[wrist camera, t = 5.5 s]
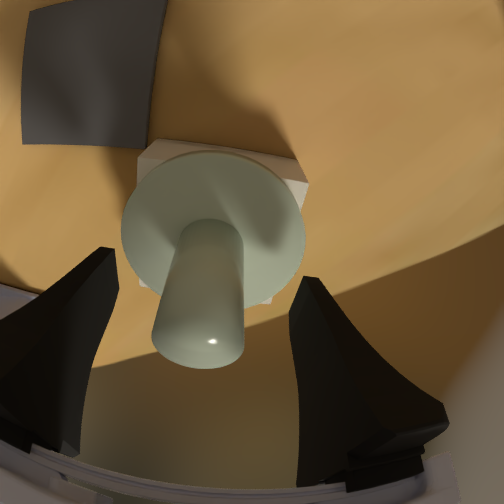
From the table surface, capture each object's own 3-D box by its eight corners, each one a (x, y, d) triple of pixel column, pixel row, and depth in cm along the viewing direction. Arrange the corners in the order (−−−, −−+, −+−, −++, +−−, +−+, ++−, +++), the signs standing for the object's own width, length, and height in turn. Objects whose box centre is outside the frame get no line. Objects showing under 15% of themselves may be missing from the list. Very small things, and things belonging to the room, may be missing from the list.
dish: (152, 252, 17) (139, 286, 15) (157, 138, 13) (137, 157, 11) (266, 268, 18) (270, 304, 16) (297, 160, 14) (309, 183, 12)
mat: (26, 142, 12) (22, 144, 12) (34, 11, 8) (29, 11, 7) (146, 146, 13) (144, 149, 13) (169, -8, 9) (167, -9, 9)
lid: (136, 292, 15) (106, 385, 10) (121, 145, 10) (41, 218, 6) (283, 306, 16) (295, 403, 11) (320, 163, 11) (374, 248, 7)
